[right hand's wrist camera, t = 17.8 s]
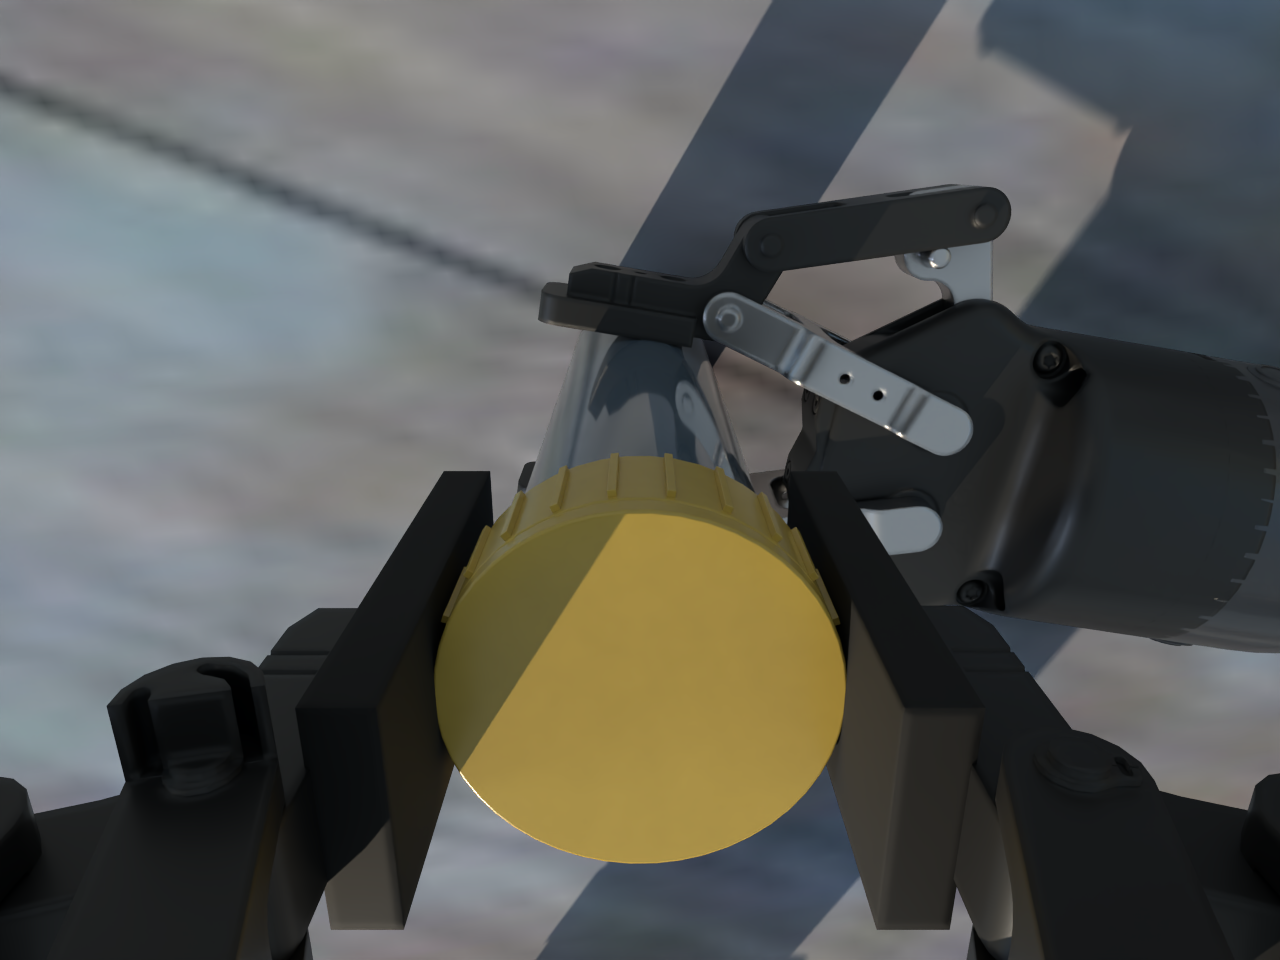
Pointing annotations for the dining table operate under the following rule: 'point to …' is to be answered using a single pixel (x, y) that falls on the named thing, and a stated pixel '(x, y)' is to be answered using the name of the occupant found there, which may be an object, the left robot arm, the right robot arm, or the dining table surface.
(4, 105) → the dining table surface
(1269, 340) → the dining table surface
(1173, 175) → the dining table surface
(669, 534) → the lid
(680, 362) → the clear plastic cylinder
